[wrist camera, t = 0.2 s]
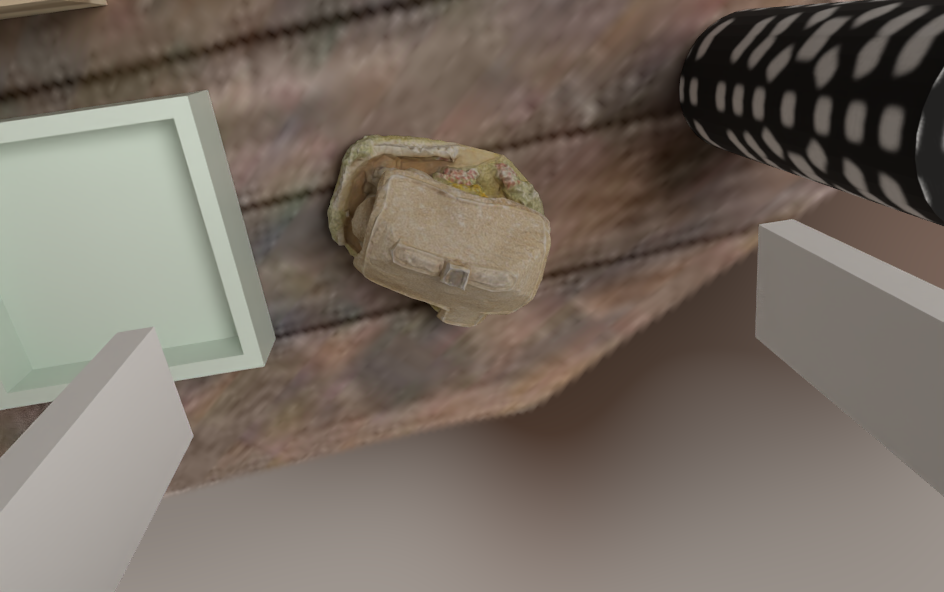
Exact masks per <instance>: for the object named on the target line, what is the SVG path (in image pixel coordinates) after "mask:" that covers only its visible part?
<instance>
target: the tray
mask: <svg viewBox="0 0 944 592" xmlns="http://www.w3.org/2000/svg"><path fill="white" fill-rule="evenodd" d="M148 327H154V328H155V331H156V333H157V336H158V339H159V342H160V344H161V347H162V350H163V353H164V355H165V358H166V361H167V364H168V367H169V369H170V372H171V375H172V378H173V380H174V381H179V380H185V379H191V378H197V377H203V376H209V375H215V374H221V373H227V372H233V371H239V370H245V369H252V368H258V367H264V366H265V364H266V362H267V359H268V357H269V354H270V352H271V349H272V347H273V344H274V342H275V339H276V337H275V334H274V330H273V326H272V323H271V319H270V315H269V312H268V308H267V304H266V301H265V297H264V293H263V290H262V286H261V282H260V279H259V275H258V271H257V268H256V264H255V260H254V257H253V253H252V249H251V246H250V242H249V239H248V235H247V231H246V228H245V224H244V220H243V217H242V213H241V209H240V206H239V202H238V198H237V195H236V191H235V187H234V184H233V180H232V176H231V173H230V169H229V165H228V162H227V158H226V154H225V151H224V147H223V143H222V140H221V136H220V132H219V129H218V125H217V121H216V118H215V114H214V110H213V107H212V103H211V99H210V96H209V92H208V90H203V91H196V92H189V93H182V94H175V95H168V96H161V97H154V98H147V99H140V100H133V101H127V102H120V103H113V104H106V105H99V106H92V107H85V108H78V109H71V110H64V111H57V112H50V113H43V114H36V115H29V116H22V117H15V118H8V119H1V120H0V410H4V409H10V408H16V407H22V406H28V405H34V404H40V403H46V402H52V401H54V400H55V399H56V398H57V396H58V395H59V394H60V393H61V392H62V391H63V390H64V389H65V388H66V387H67V386H68V385H69V384H70V383H71V381H72V380H73V379H74V378H75V377H76V376H77V375H78V374H79V373H80V372H81V371H82V370H83V369H84V368H85V366H86V365H87V364H88V363H89V362H90V361H91V360H92V359H93V358H94V357H95V356H96V355H97V354H98V353H99V351H100V350H101V349H102V348H103V347H104V346H105V345H106V344H107V343H108V342H109V341H110V340H111V339H112V338H113V336H114V335H115V334H116V333H118V332H124V331H130V330H136V329H142V328H148Z"/></svg>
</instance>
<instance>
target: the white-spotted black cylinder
mask: <svg viewBox="0 0 944 592" xmlns="http://www.w3.org/2000/svg"><path fill="white" fill-rule="evenodd" d="M679 92H680V104H681V107H682V111H683V115H684V117H685V119H686V121H687V123H688V125H689V126H690V128H691V129H692V130H693V131H694V132H695V134H696V135H697V136H698V137H700V138H701V139H702V140H704V141H705V142H706V143H709V144H711V145H713V146H715V147H718V148H721V149H723V150H726V151H729V152H732V153H735V154H738V155H741V156H744V157H746V158H749V159H752V160H755V161H758V162H761V163H764V164H767V165H769V166H772V167H775V168H778V169H781V170H784V171H787V172H790V173H792V174H795V175H798V176H801V177H804V178H807V179H810V180H813V181H815V182H818V183H821V184H824V185H827V186H830V187H833V188H835V189H838V190H841V191H844V192H847V193H850V194H853V195H856V196H859V197H861V198H864V199H867V200H870V201H873V202H876V203H879V204H882V205H884V206H887V207H890V208H893V209H896V210H899V211H902V212H905V213H907V214H910V215H913V216H916V217H919V218H922V219H925V220H927V221H931V222H933V223H936V224H939V225H942V226H944V0H863V1H850V2H837V3H824V4H810V5H797V6H784V7H771V8H758V9H747V10H742V11H738V12H734V13H732V14H730V15H727V16H725V17H723V18H721V19H720V20H718V21H717V22H715V23H714V24H712V25H711V26H710V27H709V28H708V29H707V30H706V31H705V32H704V33H703V34H702V35H701V36H700V37H699V38H698V40H697V41H696V43H695V44H694V45H693V47H692V48H691V50H690V52H689V54H688V56H687V58H686V60H685V63H684V66H683V70H682V73H681V79H680V88H679Z"/></svg>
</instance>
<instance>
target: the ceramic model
mask: <svg viewBox="0 0 944 592" xmlns="http://www.w3.org/2000/svg"><path fill="white" fill-rule="evenodd" d="M327 215H328V222H329V229H330V232H331V235H332V239H333V240H334V241H335V242H336V243H338V244H339V246H341V245H345V247H346V248H347V249H348V251H349V253H350V255H352V256H353V257H354V261H353V265H354V266H355V267H356V269H357V270H358V271H359V272H361V273H362V274H363V275H364V276H365V277H366V278H367V279H369V280H370V281H372V282H374V283H376V284H378V285H381V286H383V287H385V288H388V289H390V290H393V291H395V292H398V293H400V294H403V295H405V296H408V297H410V298H413V299H417V300H420V301H423V302H426V303H429V304H430V305H431V306H432V308H433V309H434V310H436V311H437V312H438V314H437V317H438V318H439V319H440V320H441V321H443V322H445V323H446V324H451V325H457V326H461V327H472V326H476V325H478V324H480V323H481V322H482V321H483V320H484V319H485V318H486V316H487V315H488V314H498V315H507V314H510V313H512V312H515V311H517V310H518V309H519V308H521V307H523V306H525V305H526V304H528V303H529V302H530V301H531V300H532V299H533V298H534V296H535V294H536V292H537V290H538V287H539V284H540V282H541V280H542V278H543V273H544V269H545V266H546V261H547V256H548V253H549V250H550V247H551V238H550V231H551V228H550V226H549V225H550V221H549V220H548V219H547V218H546V217H545V216H544V211H543V205H542V201H541V199H540V197H539V194H538V193H537V192H536V191H535V190H534V188H533V185H532V184H530V183H529V181H527V179H526V178H525V177H524V176H523V175H522V174H521V173H520V172H519V171H518V169H517V168H516V167H515V166H514V165H513V164H512V162H511V161H510V160H508V159H507V158H506V157H505V156H504V155H499V154H496V153H493V152H490V151H486V150H482V149H477V148H474V147H469V146H465V145H460V144H457V143H454V142H444V141H441V140H431V139H428V138H418V137H411V136H406V137H403V136H380V135H371V136H364V137H363V138H362V139H361V140H357V141H356V143H355V144H353V145H351V146H350V147H349V149H348V150H347V152H346V154H345V155H344V157H343V159H342V165H341V170H340V174H339V177H338V181H337V184H336V187H335V190H334V193H333V196H332V198H331V201H330V206H329V208H328V211H327Z"/></svg>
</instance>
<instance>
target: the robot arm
mask: <svg viewBox="0 0 944 592" xmlns="http://www.w3.org/2000/svg"><path fill="white" fill-rule="evenodd" d="M757 271H758V272H757V300H756V332H755V333H756V334H755V337H756V338H757V339H758V340H759V341H761V342H762V343H763V344H764V345H765V346H767V347H768V348H769V349H770V350H771V351H773V352H774V353H775V354H776V355H777V356H779V357H780V358H781V359H782V360H783V361H784V362H786V363H787V364H788V365H789V366H790V367H791V368H793V369H794V370H795V371H796V372H797V373H798V374H800V375H801V376H802V377H803V378H805V379H806V380H807V381H808V382H809V383H810V384H811V385H813V386H814V387H815V388H816V389H817V390H819V391H820V392H821V393H822V394H823V395H825V396H826V397H827V398H828V399H829V400H830V401H832V402H833V403H834V404H835V405H836V406H838V407H839V408H840V409H841V410H842V411H843V412H845V413H846V414H847V415H848V416H849V417H851V418H852V419H853V420H854V421H855V422H857V423H858V424H859V425H860V426H861V427H862V428H864V429H865V430H866V431H867V432H868V433H869V434H871V435H872V436H873V437H874V438H875V439H876V440H878V441H879V442H880V443H881V444H882V445H884V446H885V447H886V448H887V449H888V450H889V451H891V452H892V453H893V454H894V455H896V456H897V457H898V458H899V459H900V460H901V461H902V462H904V463H905V464H906V465H907V466H908V467H910V468H911V469H912V470H913V471H914V472H915V473H917V474H918V475H919V476H920V477H922V478H923V479H924V480H925V481H926V482H927V483H929V484H930V485H931V486H932V487H933V488H934V489H936V490H937V491H938V492H939V493H940V494H941V495H943V496H944V290H943V289H941V288H938V287H936V286H934V285H932V284H930V283H928V282H926V281H924V280H921V279H919V278H917V277H915V276H913V275H911V274H908V273H906V272H904V271H902V270H900V269H898V268H896V267H894V266H891V265H889V264H887V263H885V262H883V261H881V260H879V259H877V258H875V257H872V256H870V255H868V254H866V253H864V252H862V251H860V250H857V249H855V248H853V247H851V246H849V245H847V244H845V243H842V242H840V241H838V240H836V239H834V238H832V237H830V236H827V235H825V234H823V233H821V232H819V231H817V230H815V229H813V228H810V227H808V226H806V225H804V224H802V223H800V222H798V221H796V220H794V219H790V220H784V221H778V222H772V223H766V224H760V225H759V237H758V270H757ZM192 438H193V433H192V430H191V428H190V425H189V422H188V419H187V417H186V414H185V411H184V408H183V405H182V403H181V400H180V397H179V394H178V392H177V389H176V386H175V383H174V380H173V378H172V375H171V372H170V369H169V367H168V364H167V361H166V358H165V355H164V353H163V350H162V347H161V344H160V342H159V339H158V336H157V333H156V331H155V328H154V327H148V328H142V329H136V330H130V331H124V332H118V333H116V334H115V335H114V336H113V338H112V339H111V340H110V341H109V342H108V343H107V344H106V345H105V346H104V347H103V348H102V349H101V350H100V351H99V353H98V354H97V355H96V356H95V357H94V358H93V359H92V360H91V361H90V362H89V363H88V364H87V365H86V366H85V368H84V369H83V370H82V371H81V372H80V373H79V374H78V375H77V376H76V377H75V378H74V379H73V380H72V381H71V383H70V384H69V385H68V386H67V387H66V388H65V389H64V390H63V391H62V392H61V393H60V394H59V395H58V396H57V398H56V399H55V400H54V401H53V402H52V403H51V404H50V405H49V406H48V407H47V408H46V409H45V410H44V411H43V413H42V414H41V415H40V416H39V417H38V418H37V419H36V420H35V421H34V422H33V423H32V424H31V425H30V427H29V428H28V429H27V430H26V431H25V432H24V433H23V434H22V435H21V436H20V437H19V438H18V439H17V440H16V442H15V443H14V444H13V445H12V446H11V447H10V448H9V449H8V450H7V451H6V452H5V453H4V454H3V455H2V457H1V458H0V592H115V591H116V589H117V587H118V585H119V583H120V581H121V579H122V577H123V575H124V573H125V571H126V569H127V567H128V565H129V563H130V561H131V559H132V557H133V555H134V553H135V551H136V549H137V547H138V545H139V543H140V541H141V539H142V537H143V535H144V533H145V531H146V529H147V527H148V525H149V523H150V521H151V519H152V517H153V515H154V514H155V511H156V509H157V508H158V506H159V504H160V502H161V500H162V498H163V496H164V494H165V492H166V490H167V488H168V486H169V484H170V482H171V480H172V478H173V476H174V474H175V472H176V470H177V468H178V466H179V464H180V462H181V460H182V458H183V456H184V454H185V452H186V450H187V448H188V446H189V444H190V442H191V440H192Z"/></svg>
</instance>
